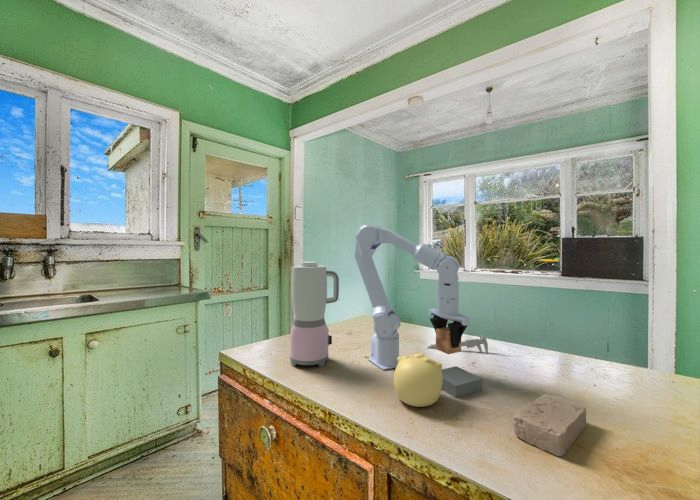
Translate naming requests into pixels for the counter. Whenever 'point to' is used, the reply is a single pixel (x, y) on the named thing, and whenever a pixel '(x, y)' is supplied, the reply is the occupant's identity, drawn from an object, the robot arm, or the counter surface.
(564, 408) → the brick
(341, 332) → the counter surface
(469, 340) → the caliper
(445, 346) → the block
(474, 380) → the base
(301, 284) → the blender
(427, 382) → the sculpture
